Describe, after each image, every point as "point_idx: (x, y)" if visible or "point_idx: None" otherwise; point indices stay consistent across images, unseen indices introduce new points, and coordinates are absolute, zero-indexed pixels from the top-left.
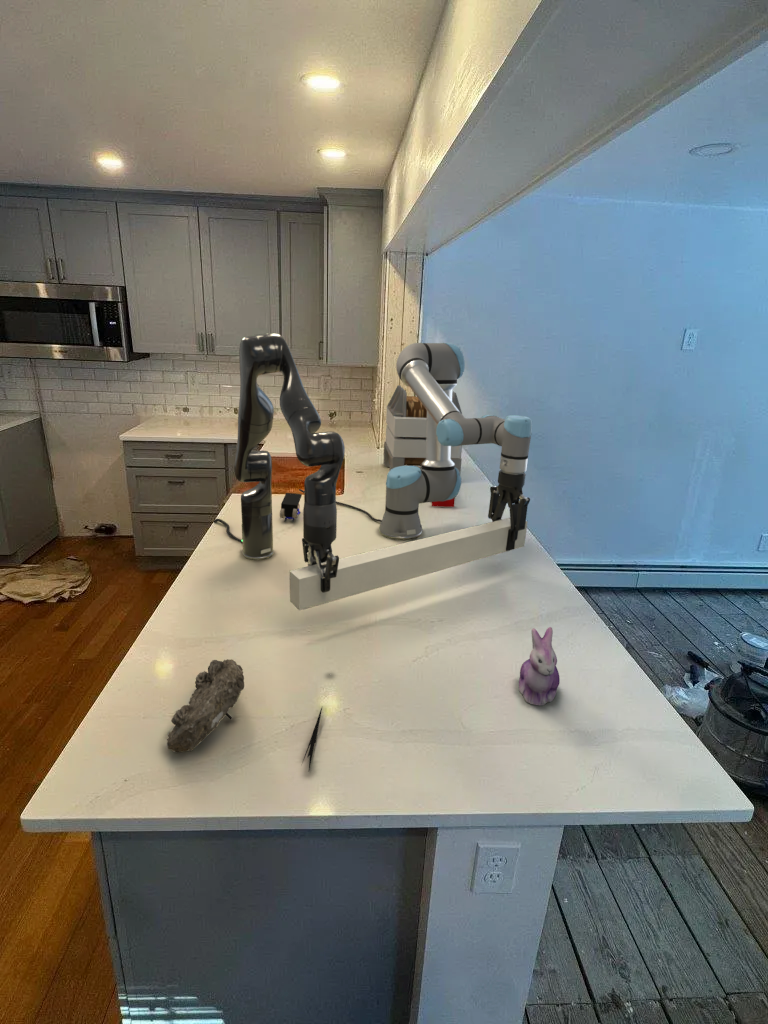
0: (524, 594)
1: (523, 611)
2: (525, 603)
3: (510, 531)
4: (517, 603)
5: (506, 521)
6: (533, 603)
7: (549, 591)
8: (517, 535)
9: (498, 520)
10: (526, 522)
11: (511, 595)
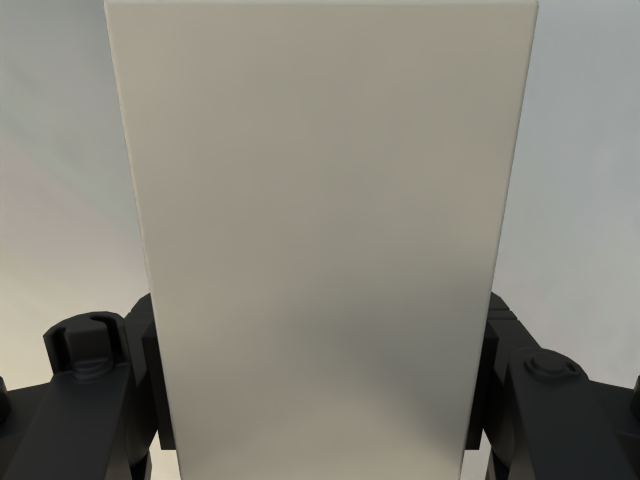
0: (544, 236)
1: (626, 350)
2: (596, 296)
3: (474, 433)
4: (570, 324)
5: (282, 401)
6: (623, 266)
7: (622, 90)
8: (521, 327)
9: (185, 470)
10: (528, 50)
11: (507, 295)
